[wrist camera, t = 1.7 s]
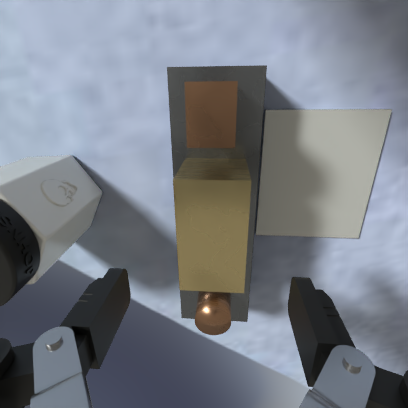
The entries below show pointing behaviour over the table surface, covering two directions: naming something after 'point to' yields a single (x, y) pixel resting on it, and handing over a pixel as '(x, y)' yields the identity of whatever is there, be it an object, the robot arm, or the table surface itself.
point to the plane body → (218, 148)
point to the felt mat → (318, 170)
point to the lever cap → (212, 223)
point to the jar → (41, 216)
